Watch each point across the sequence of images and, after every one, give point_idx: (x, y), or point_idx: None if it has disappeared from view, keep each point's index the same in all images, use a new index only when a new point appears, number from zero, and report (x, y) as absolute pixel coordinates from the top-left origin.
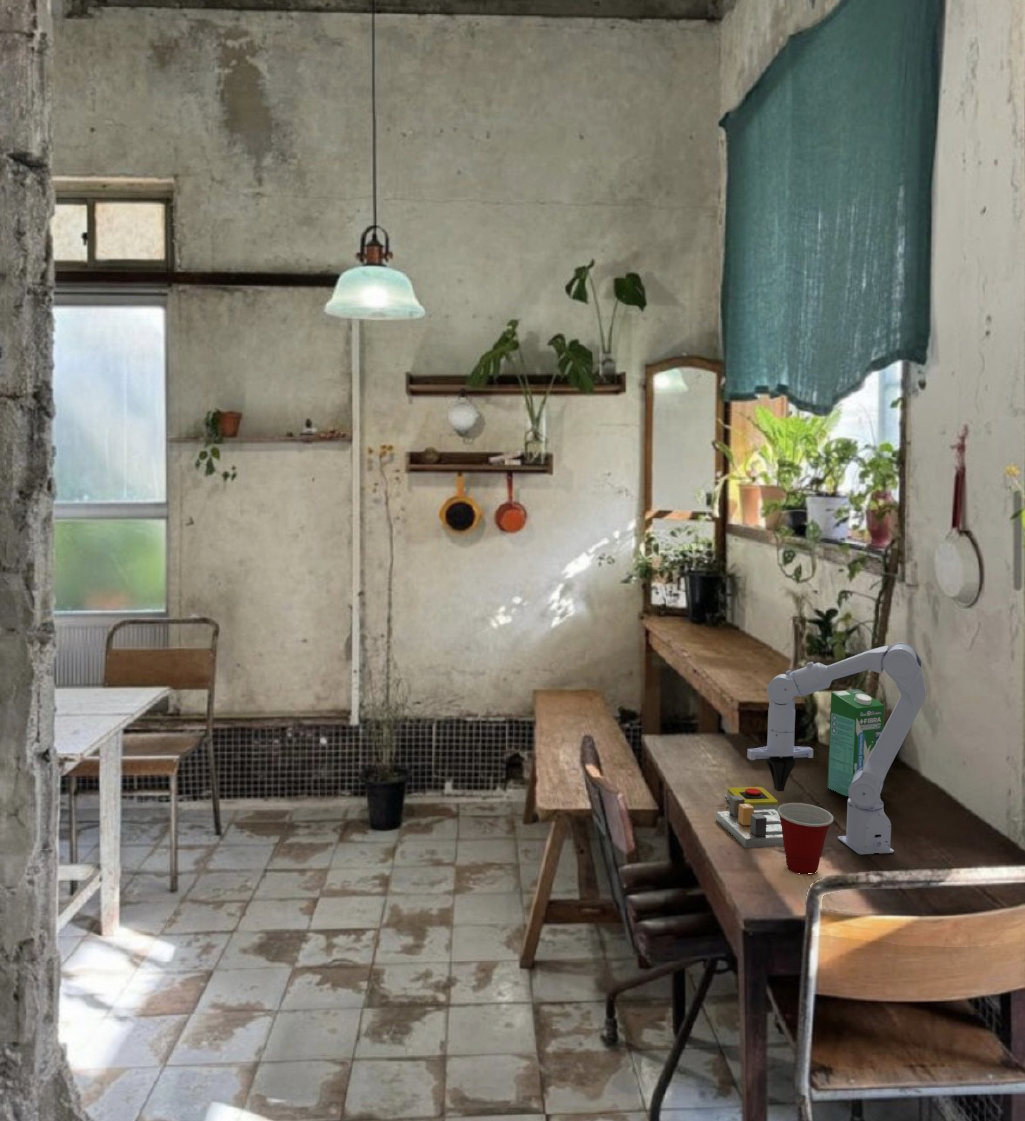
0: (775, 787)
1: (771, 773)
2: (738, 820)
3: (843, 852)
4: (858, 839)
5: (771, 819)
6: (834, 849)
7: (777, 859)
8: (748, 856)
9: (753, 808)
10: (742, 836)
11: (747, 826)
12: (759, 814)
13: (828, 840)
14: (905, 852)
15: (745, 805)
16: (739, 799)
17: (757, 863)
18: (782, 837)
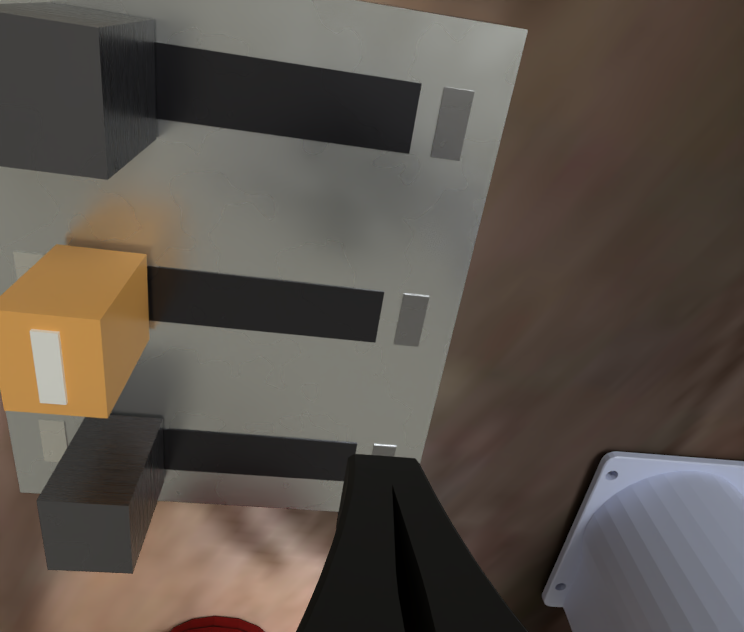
0: (344, 496)
1: (312, 602)
2: (56, 250)
3: (500, 563)
4: (592, 612)
5: (350, 251)
6: (487, 535)
7: (159, 573)
8: (27, 530)
9: (103, 415)
10: (15, 451)
11: None
12: (106, 516)
13: (545, 452)
14: None
15: (39, 368)
16: (51, 154)
17: (46, 590)
18: (255, 503)
